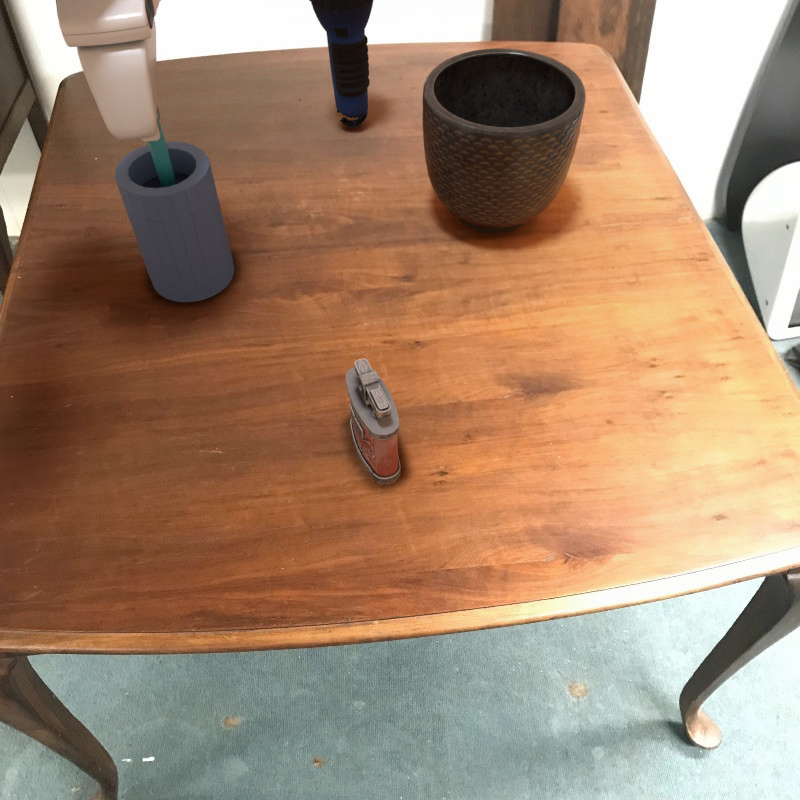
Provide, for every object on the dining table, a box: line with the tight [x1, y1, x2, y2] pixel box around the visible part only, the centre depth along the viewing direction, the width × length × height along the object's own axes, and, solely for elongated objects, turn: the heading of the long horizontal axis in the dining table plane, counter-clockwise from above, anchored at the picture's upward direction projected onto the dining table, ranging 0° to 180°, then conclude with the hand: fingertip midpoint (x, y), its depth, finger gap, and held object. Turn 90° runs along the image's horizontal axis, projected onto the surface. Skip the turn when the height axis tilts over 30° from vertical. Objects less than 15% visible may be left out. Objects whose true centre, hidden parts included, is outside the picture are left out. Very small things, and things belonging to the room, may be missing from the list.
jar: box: [114, 140, 235, 303], centre depth 82 cm, size 9×9×14 cm
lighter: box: [345, 358, 402, 485], centre depth 68 cm, size 8×3×10 cm, turn 22°
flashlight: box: [309, 0, 374, 128], centre depth 98 cm, size 8×8×20 cm
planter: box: [422, 47, 587, 235], centre depth 88 cm, size 17×17×16 cm
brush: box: [147, 114, 177, 188], centre depth 78 cm, size 5×5×21 cm
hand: (151, 128), depth 73 cm, fingers closed on brush
